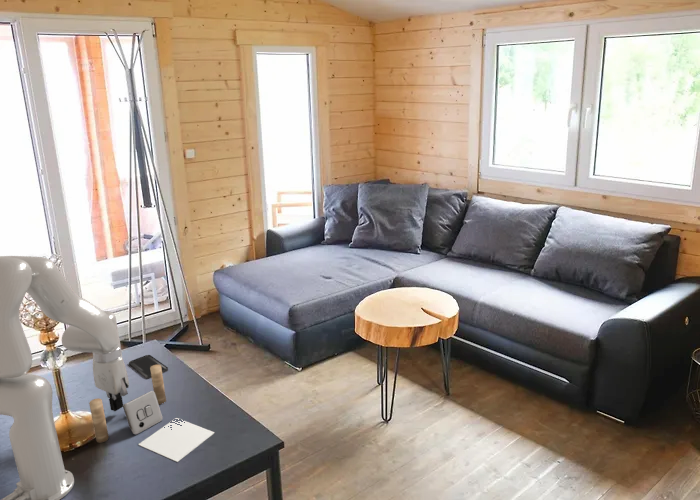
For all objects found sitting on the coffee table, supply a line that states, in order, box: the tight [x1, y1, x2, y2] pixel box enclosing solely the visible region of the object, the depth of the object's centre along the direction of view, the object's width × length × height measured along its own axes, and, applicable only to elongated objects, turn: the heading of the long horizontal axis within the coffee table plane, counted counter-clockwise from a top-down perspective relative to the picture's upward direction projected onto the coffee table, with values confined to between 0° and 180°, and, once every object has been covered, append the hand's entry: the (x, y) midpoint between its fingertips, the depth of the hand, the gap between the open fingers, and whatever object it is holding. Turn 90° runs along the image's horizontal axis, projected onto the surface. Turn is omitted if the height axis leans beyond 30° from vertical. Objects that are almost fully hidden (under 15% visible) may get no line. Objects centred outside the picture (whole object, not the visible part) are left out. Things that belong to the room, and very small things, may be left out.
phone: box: [128, 354, 169, 379], centre depth 196 cm, size 8×1×15 cm
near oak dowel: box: [88, 398, 110, 443], centre depth 157 cm, size 3×3×12 cm
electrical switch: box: [122, 390, 163, 435], centre depth 163 cm, size 9×5×9 cm, turn 141°
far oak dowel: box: [150, 365, 167, 405], centre depth 174 cm, size 3×3×12 cm
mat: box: [138, 417, 215, 463], centre depth 158 cm, size 14×15×1 cm
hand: (117, 408), depth 169 cm, fingers closed
